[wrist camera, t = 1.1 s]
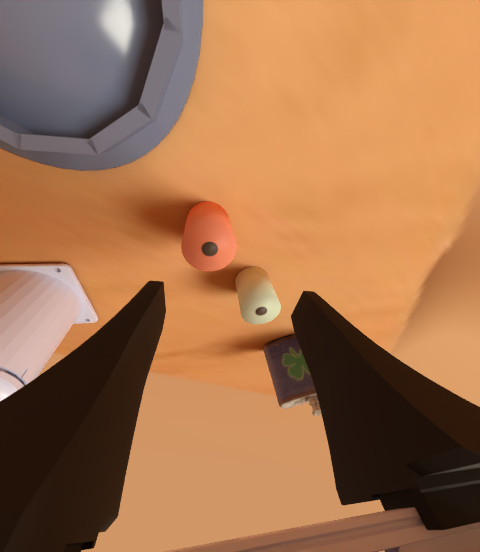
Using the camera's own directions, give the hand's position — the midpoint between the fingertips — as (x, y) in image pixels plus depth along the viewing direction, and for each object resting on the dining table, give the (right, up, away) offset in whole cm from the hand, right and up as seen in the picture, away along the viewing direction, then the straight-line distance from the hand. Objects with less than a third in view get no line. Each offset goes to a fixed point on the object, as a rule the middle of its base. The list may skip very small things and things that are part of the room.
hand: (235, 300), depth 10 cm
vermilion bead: (-3, +6, +8) cm, 11 cm away
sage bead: (+2, +1, +13) cm, 13 cm away
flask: (+8, -9, +22) cm, 26 cm away
